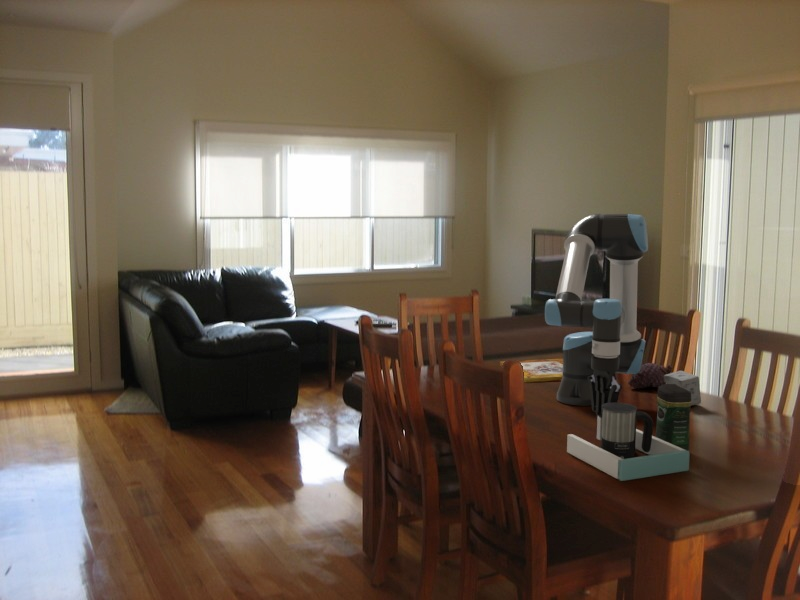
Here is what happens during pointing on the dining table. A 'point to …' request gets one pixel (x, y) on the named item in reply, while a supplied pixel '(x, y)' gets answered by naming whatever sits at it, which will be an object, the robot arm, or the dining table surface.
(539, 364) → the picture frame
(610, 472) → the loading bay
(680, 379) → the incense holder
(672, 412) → the coffee jar
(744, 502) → the dining table surface
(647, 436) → the milk frother
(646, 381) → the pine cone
